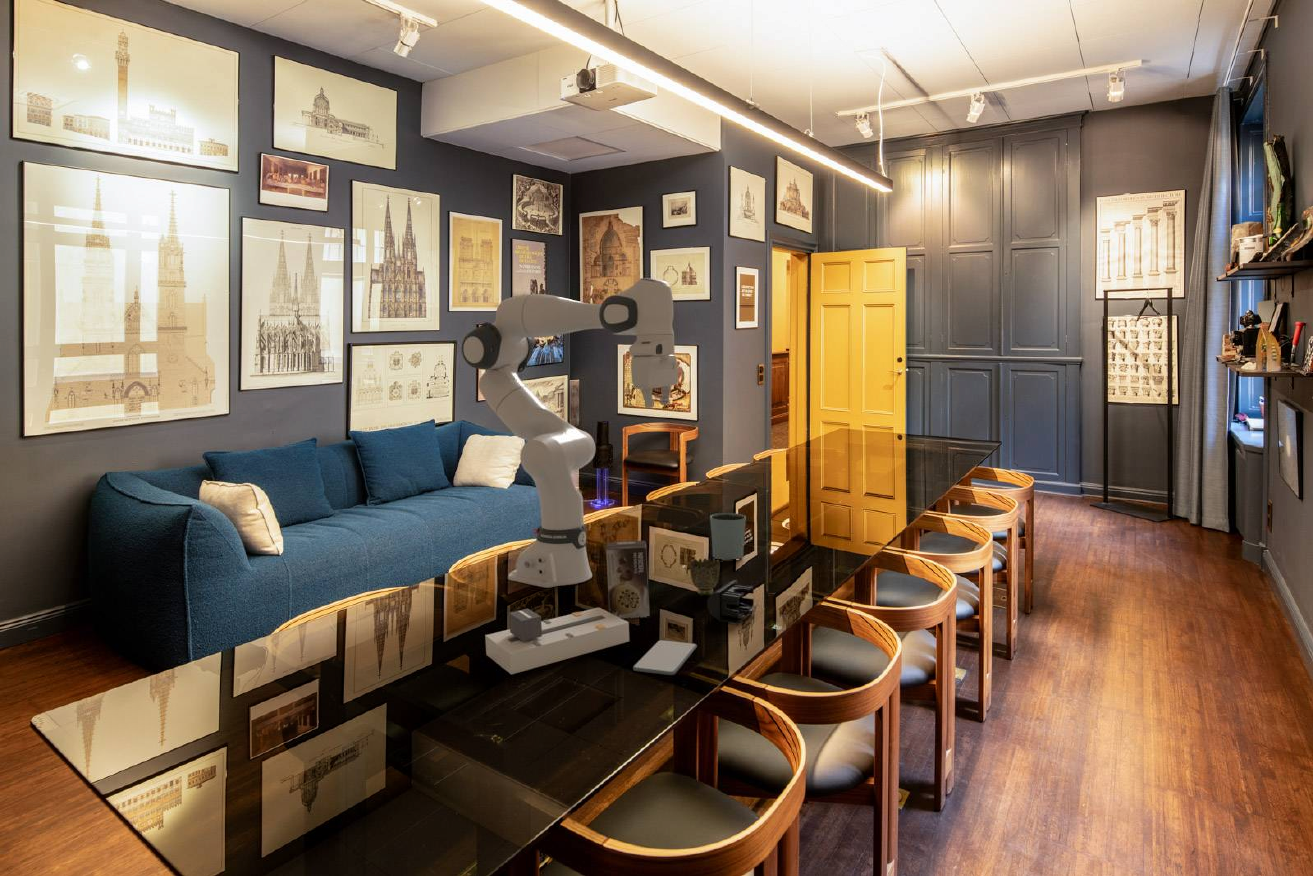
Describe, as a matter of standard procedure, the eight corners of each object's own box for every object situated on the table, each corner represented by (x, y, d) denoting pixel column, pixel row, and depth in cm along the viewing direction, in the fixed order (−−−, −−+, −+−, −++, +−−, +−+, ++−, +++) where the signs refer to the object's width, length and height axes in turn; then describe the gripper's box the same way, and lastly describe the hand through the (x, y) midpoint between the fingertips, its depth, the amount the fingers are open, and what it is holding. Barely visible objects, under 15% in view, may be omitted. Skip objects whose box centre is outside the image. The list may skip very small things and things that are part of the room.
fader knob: (523, 641, 145) (521, 620, 145) (510, 632, 150) (509, 612, 150) (542, 636, 148) (540, 616, 147) (528, 627, 152) (527, 608, 152)
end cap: (725, 607, 175) (725, 578, 174) (754, 611, 172) (754, 582, 171) (707, 620, 166) (706, 590, 166) (737, 625, 163) (736, 594, 162)
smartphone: (698, 643, 152) (674, 672, 138) (698, 648, 152) (674, 677, 138) (658, 639, 155) (631, 667, 141) (658, 644, 155) (631, 672, 141)
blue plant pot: (705, 555, 220) (704, 514, 219) (738, 551, 223) (737, 511, 222) (719, 564, 210) (718, 521, 209) (752, 560, 213) (751, 518, 212)
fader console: (511, 674, 141) (510, 652, 141) (486, 654, 151) (485, 634, 150) (629, 641, 156) (628, 621, 155) (599, 625, 166) (598, 606, 165)
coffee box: (648, 608, 176) (646, 540, 174) (649, 618, 169) (647, 547, 167) (609, 610, 175) (606, 541, 173) (608, 619, 169) (605, 548, 167)
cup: (718, 599, 180) (718, 566, 179) (688, 598, 182) (687, 565, 181) (722, 589, 187) (721, 558, 186) (692, 589, 189) (691, 557, 188)
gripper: (660, 347, 190) (661, 403, 192) (625, 348, 171) (627, 409, 173) (683, 347, 188) (685, 403, 189) (651, 347, 169) (653, 409, 171)
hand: (657, 406), depth 181 cm, fingers open, 8 cm apart
